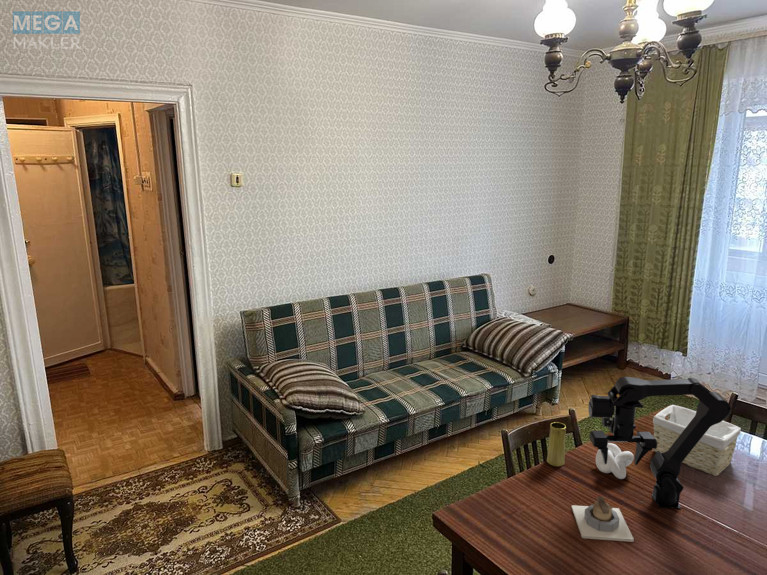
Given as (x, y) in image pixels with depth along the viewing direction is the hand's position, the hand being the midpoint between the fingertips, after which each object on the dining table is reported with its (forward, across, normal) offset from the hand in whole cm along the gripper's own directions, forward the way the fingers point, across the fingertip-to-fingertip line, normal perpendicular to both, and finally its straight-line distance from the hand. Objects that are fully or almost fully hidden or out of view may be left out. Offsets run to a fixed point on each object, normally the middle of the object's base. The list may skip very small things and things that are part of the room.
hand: (620, 463), depth 168 cm
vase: (+12, +15, -20) cm, 27 cm away
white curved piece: (+12, -3, -15) cm, 19 cm away
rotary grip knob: (+11, +9, +14) cm, 20 cm away
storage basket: (+13, -34, -26) cm, 45 cm away
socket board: (+12, +9, +14) cm, 20 cm away
